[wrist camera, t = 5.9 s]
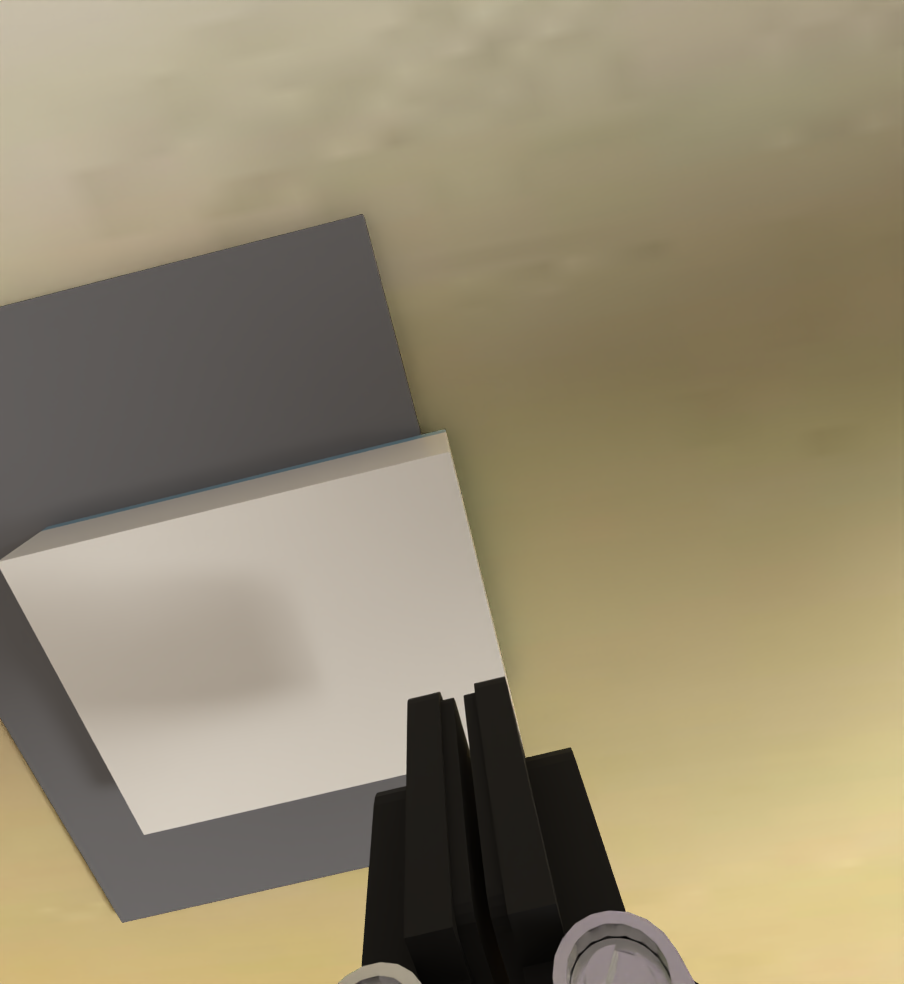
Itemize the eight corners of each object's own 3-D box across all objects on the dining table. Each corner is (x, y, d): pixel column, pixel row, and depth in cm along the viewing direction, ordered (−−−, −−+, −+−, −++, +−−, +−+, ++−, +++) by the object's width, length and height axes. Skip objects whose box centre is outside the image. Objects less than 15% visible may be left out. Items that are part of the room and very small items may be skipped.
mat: (364, 215, 14) (362, 214, 13) (522, 820, 20) (524, 831, 20) (-196, 358, 14) (-212, 360, 14) (127, 910, 20) (122, 922, 20)
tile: (449, 451, 13) (-4, 562, 14) (523, 747, 16) (143, 834, 16) (445, 428, 15) (47, 526, 15) (512, 696, 18) (172, 776, 18)
